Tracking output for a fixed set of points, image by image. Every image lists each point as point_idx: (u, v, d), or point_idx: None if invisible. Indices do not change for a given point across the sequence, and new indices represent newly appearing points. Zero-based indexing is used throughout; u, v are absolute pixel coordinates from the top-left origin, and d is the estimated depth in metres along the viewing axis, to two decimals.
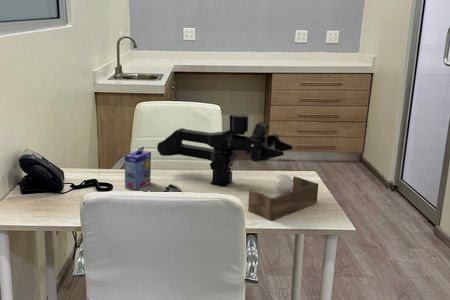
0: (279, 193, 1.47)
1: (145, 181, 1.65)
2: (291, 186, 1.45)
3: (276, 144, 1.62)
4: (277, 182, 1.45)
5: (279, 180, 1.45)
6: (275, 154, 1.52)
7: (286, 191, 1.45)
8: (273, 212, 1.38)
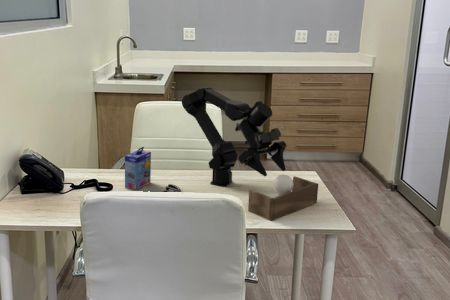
0: (279, 193, 1.47)
1: (145, 181, 1.65)
2: (291, 186, 1.45)
3: (276, 154, 1.55)
4: (277, 182, 1.45)
5: (279, 180, 1.45)
6: (259, 170, 1.47)
7: (286, 191, 1.45)
8: (273, 212, 1.38)
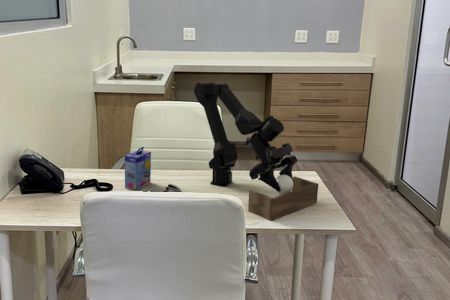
0: (279, 193, 1.47)
1: (145, 181, 1.65)
2: (291, 186, 1.45)
3: (285, 170, 1.51)
4: None
5: (279, 180, 1.45)
6: (273, 185, 1.45)
7: (286, 191, 1.45)
8: (273, 212, 1.38)
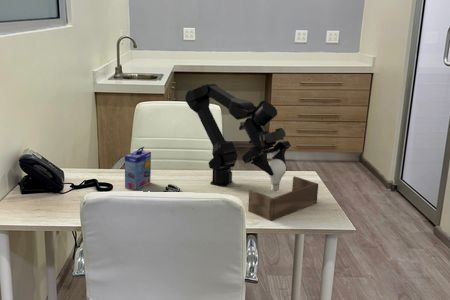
0: (272, 177, 1.48)
1: (145, 181, 1.65)
2: (284, 170, 1.47)
3: (277, 155, 1.52)
4: (270, 166, 1.47)
5: (272, 164, 1.47)
6: (266, 169, 1.47)
7: (279, 175, 1.47)
8: (273, 212, 1.38)
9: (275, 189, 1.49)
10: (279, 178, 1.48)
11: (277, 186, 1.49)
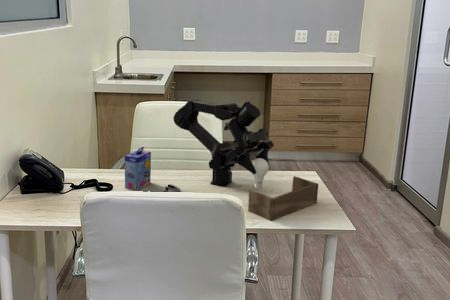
0: (255, 175, 1.54)
1: (145, 181, 1.65)
2: (266, 169, 1.52)
3: (261, 154, 1.58)
4: (253, 165, 1.53)
5: (255, 163, 1.52)
6: (249, 168, 1.52)
7: (261, 173, 1.52)
8: (273, 212, 1.38)
9: (258, 187, 1.55)
10: (262, 176, 1.54)
11: (260, 184, 1.55)
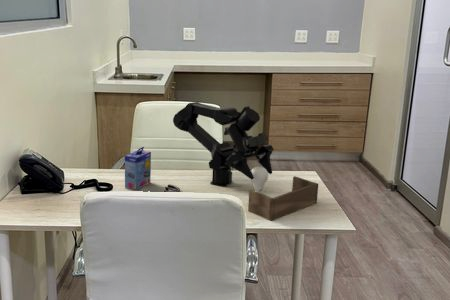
0: (255, 184, 1.55)
1: (145, 181, 1.65)
2: (266, 177, 1.54)
3: (263, 158, 1.59)
4: (253, 173, 1.54)
5: (254, 171, 1.53)
6: (246, 173, 1.52)
7: (261, 182, 1.53)
8: (273, 212, 1.38)
9: None
10: (262, 184, 1.55)
11: (260, 192, 1.56)
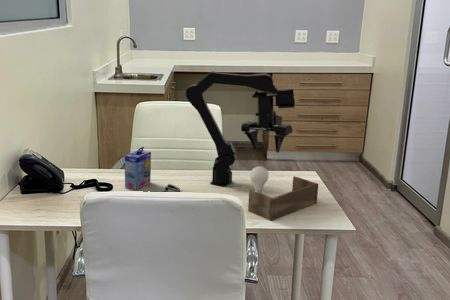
0: (255, 184, 1.55)
1: (145, 181, 1.65)
2: (266, 177, 1.53)
3: (254, 133, 1.68)
4: (253, 173, 1.53)
5: (255, 172, 1.53)
6: (278, 146, 1.62)
7: (261, 182, 1.53)
8: (273, 212, 1.38)
9: None
10: (262, 185, 1.55)
11: (260, 192, 1.56)
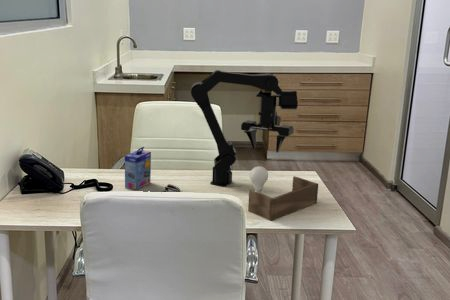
0: (255, 184, 1.55)
1: (145, 181, 1.65)
2: (266, 177, 1.53)
3: (254, 132, 1.68)
4: (252, 173, 1.53)
5: (254, 171, 1.53)
6: (279, 146, 1.64)
7: (261, 182, 1.53)
8: (273, 212, 1.38)
9: None
10: (262, 184, 1.55)
11: (260, 192, 1.56)
